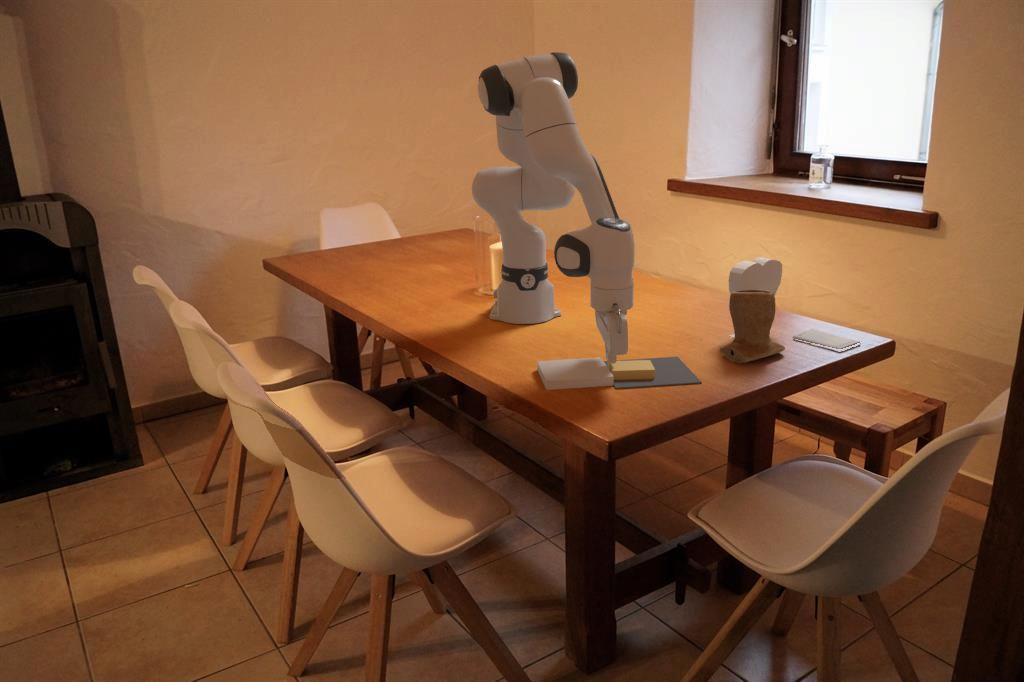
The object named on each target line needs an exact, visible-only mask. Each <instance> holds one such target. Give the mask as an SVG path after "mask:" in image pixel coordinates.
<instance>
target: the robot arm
mask: <svg viewBox="0 0 1024 682" xmlns="http://www.w3.org/2000/svg"><path fill="white" fill-rule="evenodd" d="M578 76H579V75H578V70H577V66H576V64H575V61H574V59H573V58H572V57H571V56H570V55H569V54H568V53H565V52H558V51H557V52H551V53H549V54H546V53H545V54H544V53H543V54H536V55H529V56H523V57H522V58H518V59H515V60H511V61H507V62H504V63H501V64H498V65H497V64H493V65H490V66H488V67H486V68H485V69H483V70H482V71H481V73H480V75H479V76H478V84H477V94H478V98H479V100H480V102H481V104H482V107H483V108H484V110H485V111H486V112H487V113H489V114H490V115H493V116H495V127H496V138H497V147H498V149H499V152H500V153H501V154H502V156H503V157H504V158H506V159H507V160H509V161H511V162H513V163H514V164H516V166H514V165H513V166H512V165H511V166H510V165H509V166H506V165H505V166H502V165H501V166H500V165H499V166H493V167H488V168H484V169H480V170H479V171H478V172H477V173H476V174H475V176H474V177H473V180H472V183H471V193H472V197H473V200H474V202H475V203H476V204H477V206H478V207H479V208H481V210H484V212H485V213H487V214H488V215H489V216H490V217H491V218H492V221H494V222H495V224H496V226H497V229H498V230H499V234H500V239H501V245H502V247H501V248H502V261H503V262H502V264H501V270H500V274H501V279H502V280H501V281H500V284H499V285H498V287H497V288H496V289H493V298H494V299H496V300H495V301H494V302H493V304H492V308H491V309H490V310H491V311H490V313H489V319H490V320H495V321H501V322H504V323H509V324H513V325H514V324H516V325H528V324H529V325H533V324H541V323H544V322H548V321H550V320H551V319H553V318H557V317H560V316H562V311H561V310H560V309H558V308H557V307H556V306H555V288H554V287H555V286H554V284H552V282H551V281H549V279H548V277H549V268H548V267H549V265H548V263H547V237H546V234H545V233H544V230H542V229H541V228H540V227H538V226H537V225H535V224H532V223H531V222H529V221H527V220H525V219H524V218H523V216H522V212H524V211H527V212H529V211H553V210H560V209H564V208H567V207H568V206H569V205H570V204H571V202H572V200H573V198H574V196H575V193H576V189H577V191H578V193H579V194H580V196H581V199H582V201H583V205H584V206H585V211H586V212H587V215H588V218H589V220H590V222H591V224H589V225H588V226H586V227H583V228H580V229H577V230H573V231H570V232H567V233H565V234H562V235H561V236H559V237H558V239H557V241H556V242H555V245H554V249H553V254H554V255H553V257H554V262H555V265H556V267H557V269H558V270H559V272H561V273H562V274H563V275H565V276H566V277H568V278H581V277H588V278H589V279H590V307H591V308H592V309H594V316H595V323H596V327H597V330H598V331H599V334H600V337H602V340H603V342H604V348H605V360H606V361H608V363H609V364H614V363H616V360H617V356H620V355H621V356H622V355H623V356H624V355H627V353H628V352H629V331H628V330H629V326H628V325H629V324H628V319H627V315H628V310H631V309H632V308H633V307H634V292H635V282H634V278H633V271H634V267H635V262H636V261H635V257H636V255H635V254H636V253H635V237H634V232H633V229H632V227H631V224H629V222H627V221H626V220H624V219H620V216H619V214H618V212H617V209H616V206H615V204H614V201H613V198H612V196H611V193H610V190H609V188H608V185H607V182H606V180H605V176H604V175H603V173H602V170H601V168H600V165H599V163H598V161H597V160H596V158H595V157H594V156H593V155H592V154H591V153H590V151H589V150H588V148H587V147H586V145H585V143H584V141H583V139H582V137H581V135H580V132H579V131H580V130H579V127H578V125H577V121H576V117H575V113H574V110H573V108H572V105H571V102H570V99H571V98H573V97H574V96H575V94H576V92H577V90H578V87H579V86H578V85H579V84H578V83H579V79H578V78H579V77H578Z"/></svg>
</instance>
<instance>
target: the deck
mask: <svg viewBox="0 0 1024 682" xmlns="http://www.w3.org/2000/svg"><path fill="white" fill-rule="evenodd" d="M604 361H605V360H603V359H602V357H601V356H600V357H599V356H598V357H586V358H582V357H581V358H568V359H567V358H566V359H552V360H537V361H536V362H537V363H536V367H537V368H536V370H537V371H538V375H539V377H540V380H541V381H542V384H543V386H544V388H545V390H546V391H550V390H551V391H552V390H566V389H567V390H568V389H582V388H598V387H600V388H601V387H614V376H613V375H612V373H611V372H610V370H609V369H608V367H607V366H606V364H605V363H604Z"/></svg>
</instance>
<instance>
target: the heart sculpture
mask: <svg viewBox="0 0 1024 682" xmlns="http://www.w3.org/2000/svg"><path fill="white" fill-rule="evenodd" d="M782 275H783V263H782V262H781V261H780V260H778V259H777V260H776V259H773V258H767V257H761V256H760V257H756V258H754V259H753V260H752V261H751V260H742V261H740V262H738V263H737V264H735V265H733V266H732V268H731V270H730V271H729V275H728V290H729V291H728V292H729V293H730V295H731V293H732V292H733V291H736V290H744V289H760V290H770V291H772V292H773V293H774V295H775V296H776V295H777V292H778V289H779V287H780V285H781V281H782ZM729 336H731V337H735V333H732V334H729ZM729 336H728V337H729ZM731 337H730V338H731Z"/></svg>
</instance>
